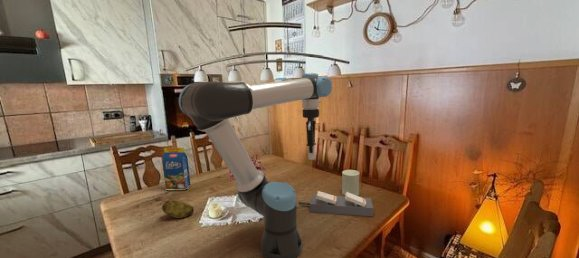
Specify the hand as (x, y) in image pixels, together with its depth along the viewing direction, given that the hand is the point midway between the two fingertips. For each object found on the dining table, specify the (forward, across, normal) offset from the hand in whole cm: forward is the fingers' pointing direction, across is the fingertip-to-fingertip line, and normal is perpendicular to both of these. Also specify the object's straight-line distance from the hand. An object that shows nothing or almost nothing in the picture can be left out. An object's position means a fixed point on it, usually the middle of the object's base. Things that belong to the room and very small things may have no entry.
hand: (311, 159), depth 116 cm
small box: (+18, -1, -20) cm, 27 cm away
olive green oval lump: (+25, -18, +60) cm, 67 cm away
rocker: (+18, -2, -7) cm, 19 cm away
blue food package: (+25, +10, +81) cm, 85 cm away
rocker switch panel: (+24, +1, -11) cm, 26 cm away
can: (+24, +20, -18) cm, 36 cm away
